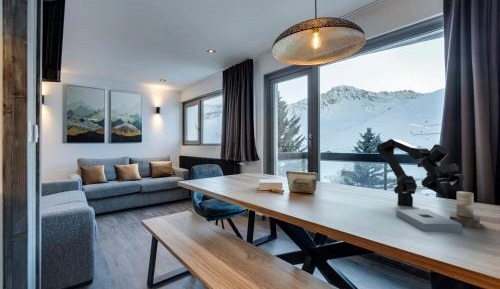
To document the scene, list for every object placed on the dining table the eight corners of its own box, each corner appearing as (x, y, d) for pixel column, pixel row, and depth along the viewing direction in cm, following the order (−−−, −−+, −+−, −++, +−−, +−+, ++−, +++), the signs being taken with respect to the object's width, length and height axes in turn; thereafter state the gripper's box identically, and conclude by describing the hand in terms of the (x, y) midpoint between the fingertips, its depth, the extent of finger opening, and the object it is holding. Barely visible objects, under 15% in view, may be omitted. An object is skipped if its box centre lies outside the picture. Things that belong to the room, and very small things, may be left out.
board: (396, 215, 115) (396, 209, 115) (427, 215, 114) (427, 209, 114) (424, 231, 95) (424, 223, 95) (461, 231, 94) (461, 224, 94)
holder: (449, 223, 104) (449, 216, 104) (452, 218, 110) (452, 211, 110) (478, 228, 97) (478, 221, 97) (479, 223, 104) (479, 216, 103)
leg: (458, 224, 102) (458, 193, 102) (454, 220, 107) (454, 190, 107) (475, 226, 100) (476, 194, 100) (471, 222, 105) (471, 192, 105)
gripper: (426, 157, 110) (451, 186, 100) (460, 157, 114) (487, 184, 103) (412, 173, 118) (433, 201, 108) (444, 172, 122) (468, 199, 111)
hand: (455, 196), depth 107 cm, fingers open, 9 cm apart
